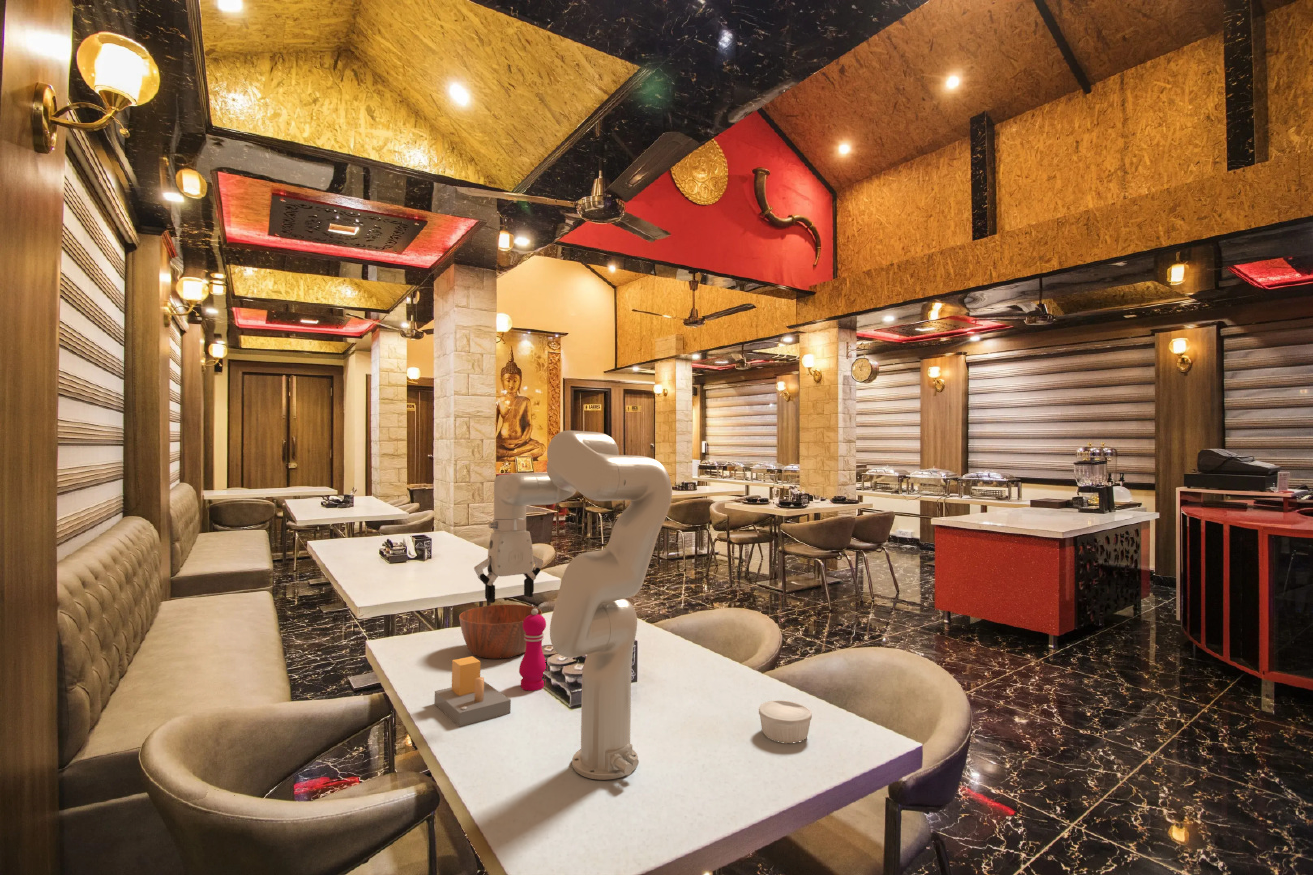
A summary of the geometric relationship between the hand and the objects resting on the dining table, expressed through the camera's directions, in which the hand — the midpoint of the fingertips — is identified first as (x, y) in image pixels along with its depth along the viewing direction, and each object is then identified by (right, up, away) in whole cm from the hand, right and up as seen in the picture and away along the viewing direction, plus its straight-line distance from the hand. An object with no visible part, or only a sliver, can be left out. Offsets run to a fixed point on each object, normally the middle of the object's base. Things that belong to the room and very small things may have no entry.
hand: (509, 599), depth 140 cm
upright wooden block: (-11, -23, +3) cm, 25 cm away
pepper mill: (+3, -27, +14) cm, 30 cm away
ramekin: (+62, -26, -12) cm, 69 cm away
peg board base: (-9, -26, -1) cm, 27 cm away
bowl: (-14, -28, +43) cm, 53 cm away
